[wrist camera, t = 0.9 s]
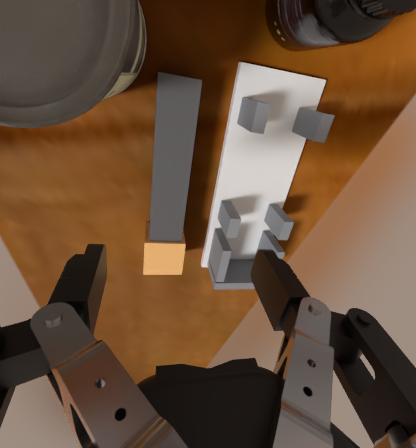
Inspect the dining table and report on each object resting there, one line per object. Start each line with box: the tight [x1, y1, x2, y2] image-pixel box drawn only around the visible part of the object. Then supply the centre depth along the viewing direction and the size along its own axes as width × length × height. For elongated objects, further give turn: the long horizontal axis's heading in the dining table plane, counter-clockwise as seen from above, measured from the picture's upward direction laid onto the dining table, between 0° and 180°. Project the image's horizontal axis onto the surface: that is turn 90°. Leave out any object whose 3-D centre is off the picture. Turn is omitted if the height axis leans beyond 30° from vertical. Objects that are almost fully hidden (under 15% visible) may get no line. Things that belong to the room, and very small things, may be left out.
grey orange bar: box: [143, 72, 202, 275], centre depth 26 cm, size 20×4×4 cm, turn 171°
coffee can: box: [0, 0, 147, 128], centre depth 14 cm, size 10×10×14 cm
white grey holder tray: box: [201, 62, 335, 289], centre depth 28 cm, size 24×9×6 cm, turn 171°
